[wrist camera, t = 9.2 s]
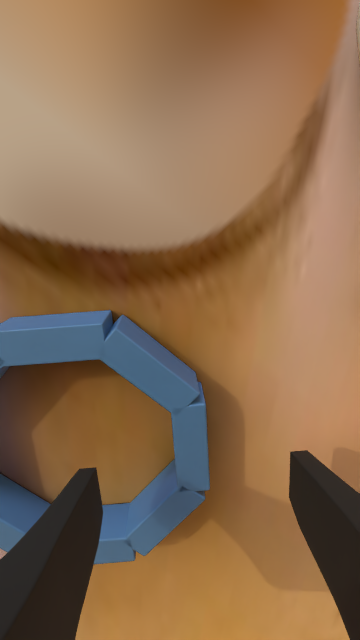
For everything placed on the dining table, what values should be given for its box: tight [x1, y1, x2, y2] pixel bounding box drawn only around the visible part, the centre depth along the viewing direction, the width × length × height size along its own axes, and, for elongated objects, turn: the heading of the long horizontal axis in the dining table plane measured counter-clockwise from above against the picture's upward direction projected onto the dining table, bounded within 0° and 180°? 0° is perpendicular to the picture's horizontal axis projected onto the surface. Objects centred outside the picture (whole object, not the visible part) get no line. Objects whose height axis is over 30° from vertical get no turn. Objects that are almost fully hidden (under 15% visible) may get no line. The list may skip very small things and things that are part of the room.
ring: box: [0, 310, 210, 564], centre depth 14 cm, size 11×11×2 cm
